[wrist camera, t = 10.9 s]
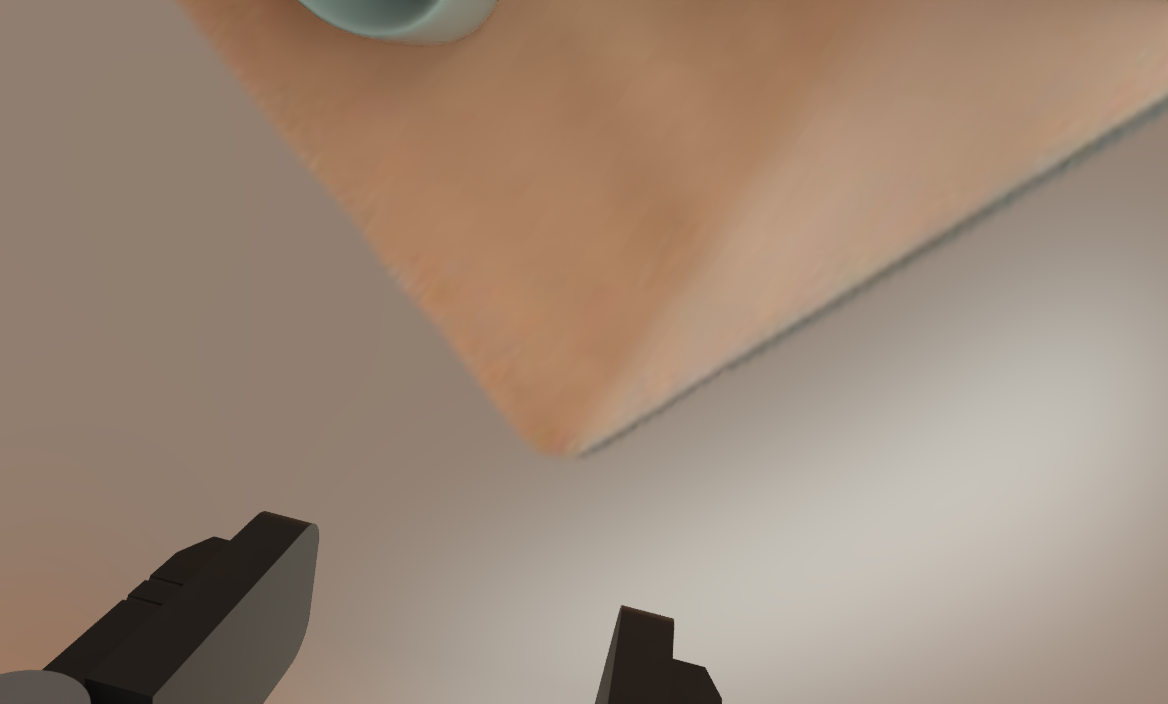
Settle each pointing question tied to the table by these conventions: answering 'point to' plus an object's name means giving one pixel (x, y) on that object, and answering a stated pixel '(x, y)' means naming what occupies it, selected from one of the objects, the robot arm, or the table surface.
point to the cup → (404, 19)
